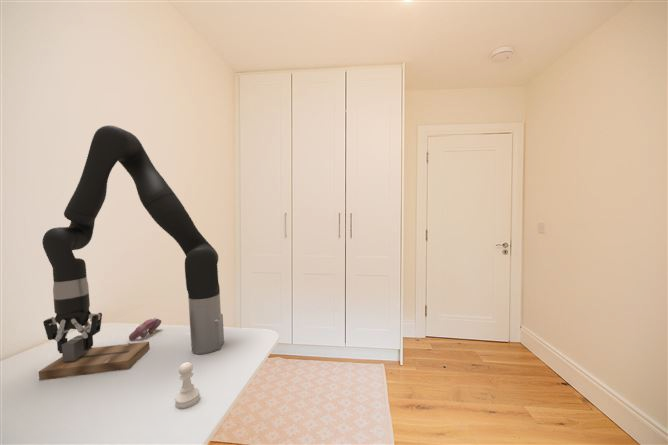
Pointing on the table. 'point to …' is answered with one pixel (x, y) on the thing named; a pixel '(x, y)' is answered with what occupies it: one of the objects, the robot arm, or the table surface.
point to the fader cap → (73, 349)
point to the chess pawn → (186, 388)
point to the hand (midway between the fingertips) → (75, 350)
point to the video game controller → (145, 328)
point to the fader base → (97, 361)
